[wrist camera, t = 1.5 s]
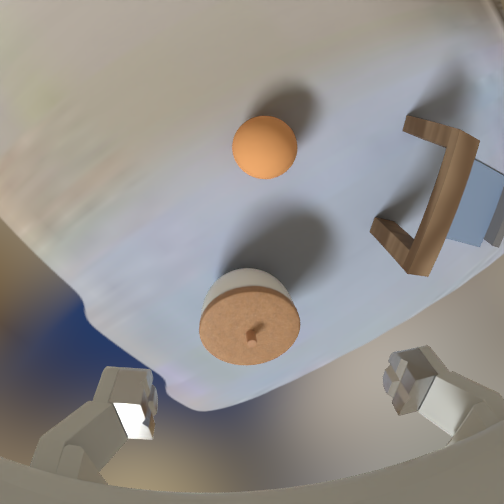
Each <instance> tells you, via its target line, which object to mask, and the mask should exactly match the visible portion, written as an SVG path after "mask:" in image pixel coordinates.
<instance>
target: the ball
mask: <svg viewBox="0 0 504 504" xmlns="http://www.w3.org/2000/svg"><path fill="white" fill-rule="evenodd" d="M232 150H233V155H234V158H235V161H236V162H237V164H238V166H239V167H240V168H241V169H242V170H243V171H244V172H245V173H247V174H248V175H250V176H253V177H255V178H259V179H271V178H275V177H278V176H280V175H282V174H283V173H285V172H286V171H287V170H288V169H289V168H290V167H291V166H292V164H293V162H294V160H295V158H296V155H297V141H296V137H295V135H294V133H293V131H292V130H291V128H290V127H289V126H288V125H287V124H286V123H285V122H283V121H282V120H280V119H278V118H275V117H272V116H258V117H254V118H251V119H249V120H248V121H246V122H245V123H243V124H242V125H241V126H240V127H239V129H238V130H237V132H236V134H235V136H234V139H233V145H232Z"/></svg>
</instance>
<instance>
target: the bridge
mask: <svg viewBox="0 0 504 504" xmlns="http://www.w3.org/2000/svg"><path fill="white" fill-rule="evenodd" d="M403 131H404V132H406V133H409V134H411V135H414V136H416V137H418V138H421V139H423V140H426V141H429V142H432V143H434V144H437V145H440V146H442V147H445V148H446V152H445V155H444V158H443V161H442V165H441V168H440V171H439V174H438V177H437V180H436V183H435V186H434V189H433V191H432V194H431V197H430V200H429V203H428V205H427V208H426V211H425V213H424V216H423V219H422V221H421V224H420V226H419V229H418V231H417V234H416V236H415V239H413V238H412V237H411V236H410V235H409V234H408V233H407V232H405V231H404V230H403V229H402V228H401V227H400V226H399V225H398V224H397V223H395V222H394V221H390V220H386V219H382V218H377V217H375V218H374V221H373V224H372V227H371V229H370V233H371V234H372V235H373V236H374V237H375V238H376V239H377V240H378V241H379V242H380V243H381V245H382V246H383V247H384V248H385V249H386V250H387V251H388V252H389V253H390V255H391V256H392V257H393V258H394V259H395V260H396V261H397V262H398V264H399V265H400V266H401V267H402V268H403V269H404V270H405V272H406V273H407V274H413V275H420V276H427V277H428V276H429V274H430V272H431V270H432V268H433V265H434V263H435V261H436V259H437V257H438V255H439V252H440V250H441V248H442V246H443V243H444V241H445V239H446V236H447V234H448V232H449V229H450V227H451V224H452V222H453V219H454V217H455V214H456V212H457V209H458V206H459V204H460V201H461V198H462V195H463V193H464V190H465V187H466V184H467V181H468V178H469V175H470V172H471V169H472V166H473V163H474V160H475V156H476V153H477V149H478V146H479V142H480V140H478V139H476V138H474V137H473V136H471V135H469V134H467V133H465V132H464V131H462V130H460V129H456V128H453V127H450V126H446V125H443V124H439V123H436V122H432V121H428V120H424V119H420V118H417V117H412V116H408V115H407V116H406V120H405V124H404V127H403Z"/></svg>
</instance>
